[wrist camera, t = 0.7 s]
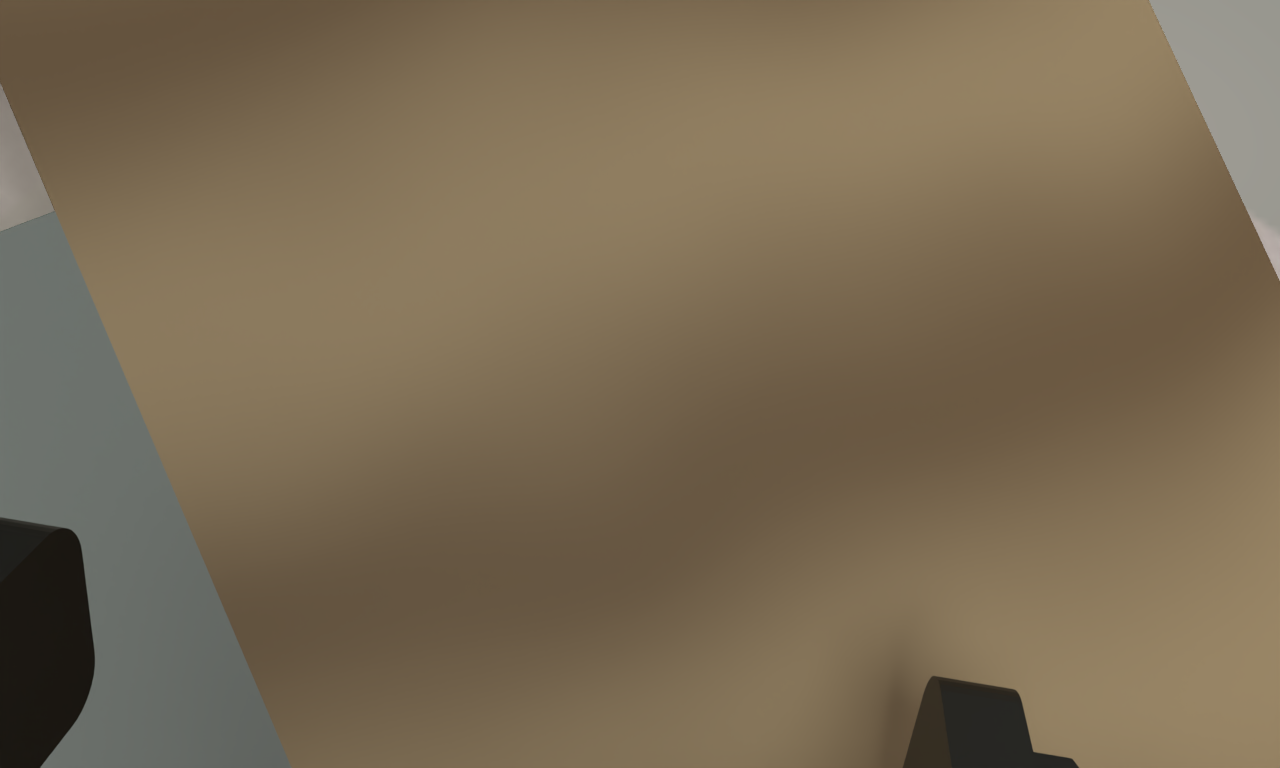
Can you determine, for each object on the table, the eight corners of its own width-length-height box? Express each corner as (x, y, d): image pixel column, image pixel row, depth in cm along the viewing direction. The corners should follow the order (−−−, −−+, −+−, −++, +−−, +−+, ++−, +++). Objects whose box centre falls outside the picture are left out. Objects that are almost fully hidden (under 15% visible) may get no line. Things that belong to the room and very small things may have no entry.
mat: (-275, 340, 31) (-285, 338, 31) (107, 196, 33) (103, 192, 32) (26, 1072, 30) (20, 1080, 30) (402, 887, 32) (401, 892, 31)
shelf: (228, 189, 33) (-181, -343, 12) (627, 37, 35) (848, -642, 14) (552, 940, 32) (694, 1716, 12) (942, 740, 34) (1660, 1097, 14)
